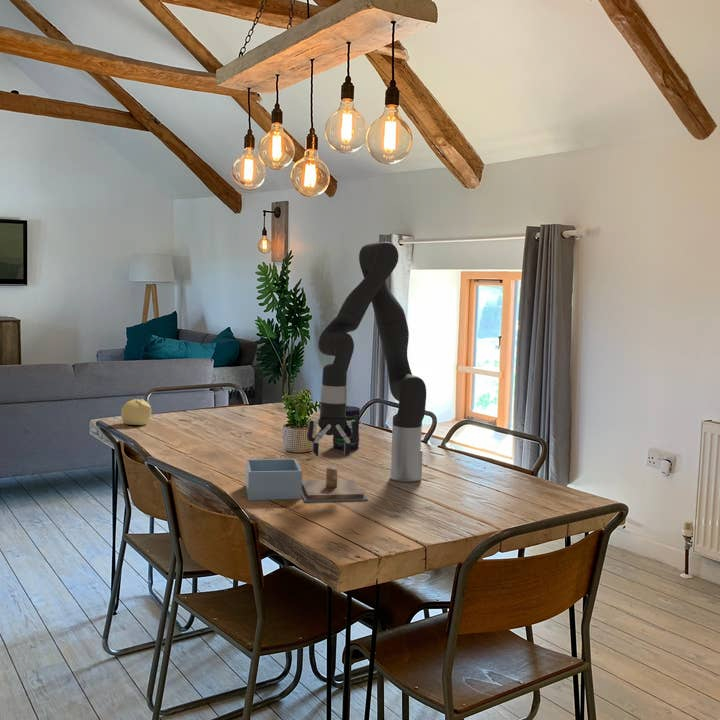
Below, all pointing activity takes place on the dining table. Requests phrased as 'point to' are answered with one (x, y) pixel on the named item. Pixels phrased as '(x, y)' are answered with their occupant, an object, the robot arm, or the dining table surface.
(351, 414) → the storage jar
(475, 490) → the dining table surface
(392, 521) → the dining table surface
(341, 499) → the mat
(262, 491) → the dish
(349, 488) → the lid
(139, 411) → the pale yellow rounded lump
